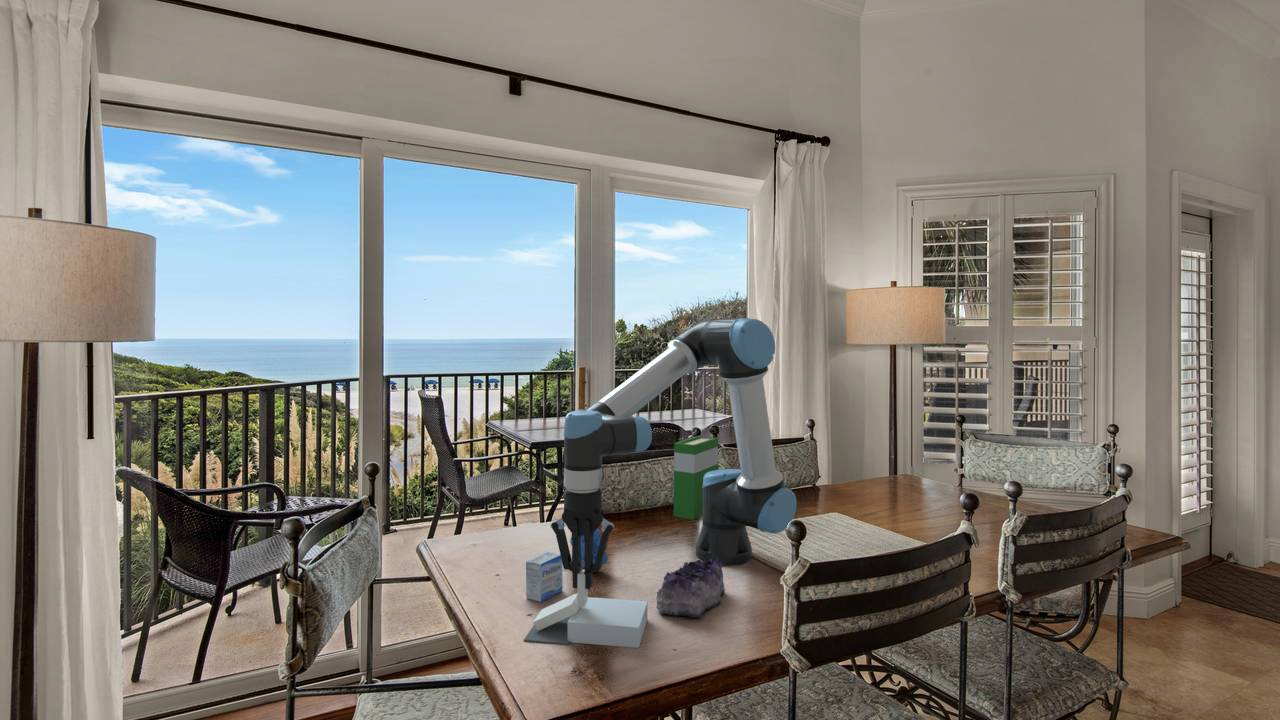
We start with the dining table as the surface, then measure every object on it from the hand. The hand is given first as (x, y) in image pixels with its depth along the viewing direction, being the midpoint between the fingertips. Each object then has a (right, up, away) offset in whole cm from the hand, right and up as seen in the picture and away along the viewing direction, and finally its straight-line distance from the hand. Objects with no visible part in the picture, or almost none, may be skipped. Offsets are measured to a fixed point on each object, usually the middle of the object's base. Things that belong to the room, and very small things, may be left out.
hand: (582, 603), depth 131 cm
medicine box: (-10, -5, +17) cm, 20 cm away
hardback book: (+30, -2, +86) cm, 91 cm away
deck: (+5, -5, -1) cm, 8 cm away
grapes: (-2, -4, +32) cm, 32 cm away
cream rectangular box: (-4, -3, +1) cm, 5 cm away
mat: (-5, -5, +1) cm, 8 cm away
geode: (+24, -5, +13) cm, 27 cm away
